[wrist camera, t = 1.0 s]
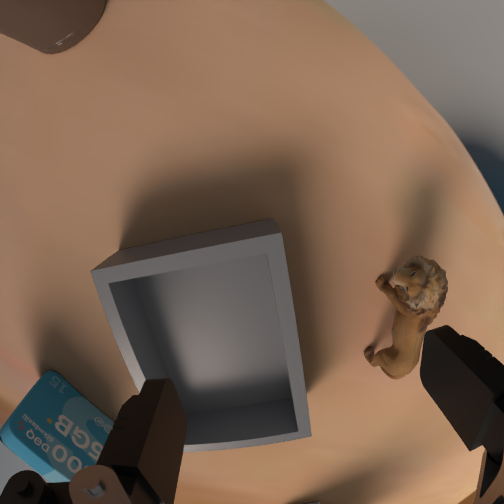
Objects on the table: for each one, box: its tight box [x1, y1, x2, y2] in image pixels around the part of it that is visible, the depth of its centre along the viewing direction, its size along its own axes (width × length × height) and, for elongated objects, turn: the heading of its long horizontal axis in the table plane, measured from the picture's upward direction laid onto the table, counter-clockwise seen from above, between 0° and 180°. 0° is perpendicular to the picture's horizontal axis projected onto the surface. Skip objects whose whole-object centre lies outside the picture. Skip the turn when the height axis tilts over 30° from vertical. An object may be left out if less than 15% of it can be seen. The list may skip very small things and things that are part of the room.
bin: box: [91, 219, 312, 452], centre depth 27 cm, size 20×14×6 cm
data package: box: [0, 371, 114, 483], centre depth 27 cm, size 12×4×12 cm, turn 41°
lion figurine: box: [364, 256, 448, 379], centre depth 25 cm, size 15×5×9 cm, turn 8°
